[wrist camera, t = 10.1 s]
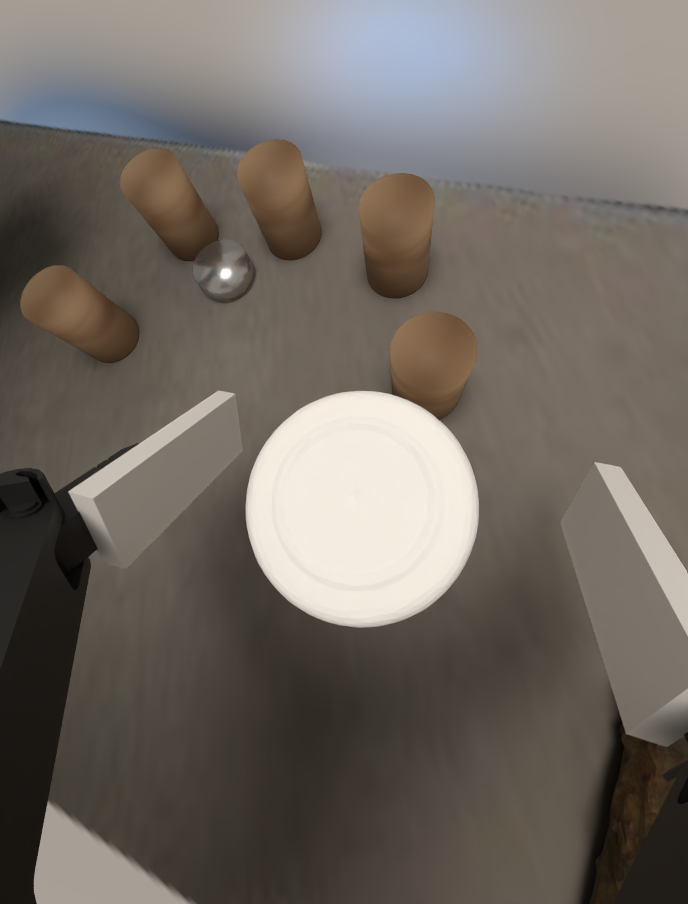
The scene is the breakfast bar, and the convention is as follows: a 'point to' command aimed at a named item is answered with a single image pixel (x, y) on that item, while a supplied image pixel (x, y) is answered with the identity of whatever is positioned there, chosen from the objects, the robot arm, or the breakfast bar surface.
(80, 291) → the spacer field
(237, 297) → the silver rounded piece
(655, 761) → the dark brown elongated piece
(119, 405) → the breakfast bar surface
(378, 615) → the sprinkles bottle
